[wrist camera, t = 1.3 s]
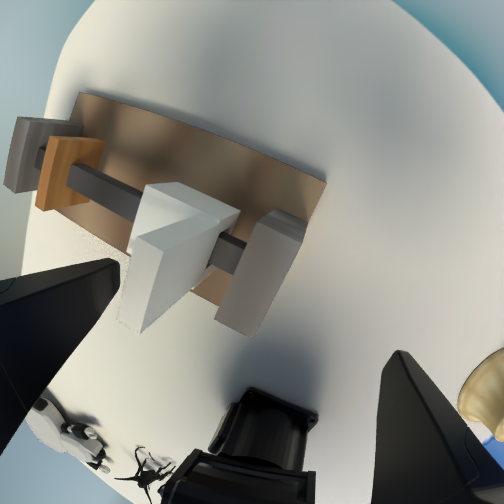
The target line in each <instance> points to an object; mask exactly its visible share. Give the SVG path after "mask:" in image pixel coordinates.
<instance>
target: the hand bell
mask: <svg viewBox="0 0 504 504" xmlns="http://www.w3.org/2000/svg"><path fill="white" fill-rule="evenodd" d="M458 411H459V413H460V415H461V416H462V417H463V418H464V419H466V420H468V421H471V422H481V423H483V424H484V425H485V426H486V427H487V428H488V429H489V430H490V431H491V432H492V434H493V435H494V437H495V438H496V440H498V441H501V442H504V348H503V349H501V350H499V351H497V352H495V353H494V354H492V355H491V356H489V357H488V358H487V359H486V360H484V361H483V362H482V363H481V364H480V365H479V366H478V367H477V368H476V369H475V370H474V371H473V372H472V374H471V375H470V376H469V378H468V379H467V381H466V382H465V384H464V386H463V388H462V390H461V392H460V395H459V398H458Z"/></svg>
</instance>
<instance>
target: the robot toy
mask: <svg viewBox="0 0 504 504" xmlns="http://www.w3.org/2000/svg"><path fill="white" fill-rule="evenodd" d="M25 419H26V421H27V423H28V425H29V426H30V428H31V429H32V431H33V432H34V434H35V435H36V436H37V437H38V438H39V439H38V440H39V441H40V442H43V443H45V444H46V445H48V446H49V447H51V448H52V449H54V450H56V451H57V452H66V451H67V452H69V453H70V454H71V455H73V456H75V457H76V458H78V459H79V460H81V461H83V462H86V463H87V464H88V465H89V466H91V467H92V468H94V469H95V470H97V469H98V468H99V469H100V470H101V471H102V472H104V473H106V474H108V473H109V472H110V469H109V468H108V467H107V466H105V465H102V464H101V463H102V462H103V461H102V459H104V458H105V456H106V453H105V450H104V449H103V448H102V447H103V445H102V444H101V443H100V442H99V441H98V440H96V438H97V436H98V435H97V434H96V433H95V431H94V430H93V429H92V428H90V427H89V426H87V425H85V424H79V423H78V424H76V425H70V424H69V423H66V422H65V420H64V419H63V417H62V415H61V414H60V412H59V411H58V410H57V409H56V407H55V406H54V405H53V403H52V402H51V401H50V400H48V399H46V398H43V397H41V396H40V397H39V398H38V400H37V401H36V403H35V404H34V405H33V407H32V408H31V410H30V411H29V412H28V414H27V416H26V417H25Z"/></svg>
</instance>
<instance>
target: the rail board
mask: <svg viewBox="0 0 504 504" xmlns="http://www.w3.org/2000/svg"><path fill="white" fill-rule="evenodd" d="M170 182H179V183H182V184H184V185H186V186H188V187H191V188H193V189H195V190H197V191H199V192H201V193H204V194H206V195H208V196H210V197H212V198H214V199H217V200H219V201H221V202H223V203H225V204H227V205H230V206H232V207H234V208H236V209H238V210H240V211H241V212H240V214H239V216H238V219H237V221H236V224H235V226H234V228H233V231H232V233H231V235H230V234H228V233H226V232H224V231H223V232H221V233H219V236H218V238H217V241H216V243H215V246H214V248H213V251H212V253H211V256H210V258H209V261H208V263H210V264H212V265H213V266H215V267H217V269H215V270H214V271H213V272H212V273H211V274H210V275H209V276H208V277H207V278H205V279H204V280H203V281H202V282H201V283H200V284H199V285H198V286H196V287H195V288H194V289H193V290H192V289H190V290H189V291H191V292H193V293H195V294H197V295H198V296H200V297H202V298H204V299H206V300H208V301H210V302H212V303H213V304H215V305H217V306H219V308H218V311H217V313H216V315H215V318H214V319H215V320H216V321H218V322H220V323H222V324H224V325H226V326H228V327H230V328H232V329H234V330H236V331H238V332H240V333H242V334H244V335H246V336H248V337H250V338H252V339H253V337H254V335H255V333H256V331H257V330H258V328H259V326H260V324H261V322H262V320H263V318H264V317H265V315H266V313H267V311H268V309H269V307H270V305H271V303H272V301H273V299H274V298H275V296H276V294H277V292H278V290H279V288H280V286H281V284H282V282H283V280H284V278H285V276H286V274H287V272H288V270H289V268H290V267H291V265H292V263H293V261H294V259H295V257H296V255H297V253H298V251H299V249H300V247H301V245H302V242H303V239H304V235H305V232H306V228H307V225H308V222H309V220H310V218H311V216H312V214H313V212H314V210H315V207H316V205H317V203H318V201H319V199H320V197H321V195H322V193H323V191H324V188H325V186H326V184H327V183H325V182H323V181H321V180H319V179H317V178H315V177H313V176H311V175H308V174H306V173H304V172H302V171H300V170H298V169H296V168H293V167H291V166H289V165H287V164H285V163H282V162H280V161H278V160H276V159H273V158H271V157H269V156H266V155H264V154H262V153H259V152H257V151H255V150H252V149H250V148H248V147H245V146H243V145H240V144H238V143H235V142H233V141H230V140H228V139H225V138H223V137H220V136H217V135H215V134H212V133H210V132H207V131H204V130H202V129H199V128H196V127H193V126H191V125H188V124H185V123H182V122H179V121H176V120H173V119H171V118H168V117H165V116H162V115H159V114H155V113H152V112H149V111H146V110H143V109H140V108H136V107H133V106H130V105H126V104H123V103H120V102H116V101H113V100H109V99H105V98H102V97H98V96H94V95H90V94H86V93H82V92H79V94H78V97H77V100H76V103H75V105H74V108H73V111H72V114H71V117H70V121H65V120H55V119H45V118H32V117H17V121H16V124H15V128H14V132H13V137H12V141H11V145H10V150H9V155H8V160H7V166H6V171H5V179H4V185H5V186H6V187H7V188H9V189H10V190H11V191H13V192H14V193H22V192H27V191H34V190H37V196H36V202H35V206H36V207H38V208H39V209H41V210H42V211H43V212H44V211H48V210H53V209H55V210H56V211H58V212H59V213H61V214H62V215H64V216H65V217H67V218H68V219H70V220H71V221H73V222H75V223H76V224H78V225H79V226H81V227H82V228H84V229H85V230H87V231H89V232H90V233H92V234H93V235H95V236H97V237H98V238H100V239H101V240H103V241H105V242H106V243H108V244H110V245H111V246H113V247H114V248H116V249H118V250H119V251H121V252H123V253H124V254H126V255H128V256H129V257H131V254H129V253H127V252H126V251H127V247H128V243H129V239H130V236H131V232H132V228H133V225H134V221H135V218H136V215H137V211H138V208H139V205H140V201H141V198H142V195H143V192H144V189H145V186H146V185H148V184H159V183H170Z"/></svg>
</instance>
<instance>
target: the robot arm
mask: <svg viewBox="0 0 504 504" xmlns="http://www.w3.org/2000/svg"><path fill="white" fill-rule="evenodd" d="M119 287H120V264H119V262H118V261H116V260H113V259H111V258H105V259H100V260H95V261H90V262H85V263H80V264H75V265H70V266H66V267H61V268H56V269H51V270H47V271H42V272H37V273H33V274H28V275H24V276H19V277H17V278H10V279H5V280H1V281H0V456H1V454H2V453H3V451H4V449H5V448H6V446H7V444H8V443H9V441H10V440H11V438H12V436H13V435H14V434H15V432H16V431H17V429H18V427H19V426H20V425H21V423H22V422H23V420H24V419H25V417H26V416H27V414H28V412H29V411H30V410H31V408H32V407H33V405H34V404H35V403H36V401H37V400H38V398H39V397H40V395H41V394H42V393H43V391H44V390H45V389H46V387H47V386H48V384H49V383H50V382H51V380H52V379H53V378H54V376H55V375H56V374H57V372H58V371H59V370H60V368H61V367H62V366H63V364H64V363H65V362H66V360H67V359H68V358H69V357H70V355H71V354H72V353H73V351H74V350H75V349H76V348H77V346H78V345H79V344H80V342H81V341H82V340H83V339H84V337H85V336H86V335H87V334H88V332H89V331H90V330H91V329H92V328H93V326H94V325H95V324H96V322H97V321H98V319H99V318H100V317H101V315H102V313H103V312H104V310H105V309H106V307H107V306H108V304H109V303H110V301H111V300H112V298H113V297H114V295H115V294H116V293H117V291H118V289H119ZM250 392H251V393H253V394H250ZM317 422H318V415H317V414H315V413H312V412H309V411H307V410H304V409H302V408H299V407H297V406H295V405H292V404H290V403H287V402H285V401H283V400H280V399H278V398H276V397H274V396H271V395H269V394H267V393H265V392H262V391H260V390H258V389H256V388H253V387H249V388H247V389H246V390H245V392H244V393H243V395H242V397H241V398H240V400H239V401H238V403H236V402H233V403H231V405H230V406H229V408H228V409H227V411H226V413H225V414H224V416H223V417H222V419H221V421H220V423H219V426H218V428H217V430H216V432H215V434H214V436H213V438H212V441H211V443H210V445H209V447H208V451H209V452H210V453H212V454H209V453H206V452H203V451H202V450H199V449H194V450H193V452H192V453H191V454H190V455H188V456H187V458H186V459H185V460H184V461H183V463H182V464H181V465H180V466H179V468H178V469H177V470H176V471H175V472H174V474H173V475H172V476H171V477H170V478H169V480H168V481H167V482H166V483H165V486H164V487H162V488H161V490H160V495H161V497H162V500H161V504H315V482H316V471H308V472H305V471H302V470H303V464H304V457H305V450H306V443H307V435H308V432H309V431H310V430H311V429H312V428H313V427H314V426H315V425H316V424H317ZM371 504H504V470H503V468H502V467H501V466H500V465H499V464H498V463H497V461H496V460H495V459H494V458H493V457H492V456H491V454H490V453H489V452H488V451H487V450H486V448H485V447H484V446H483V445H482V444H481V442H480V441H479V440H478V438H477V437H476V436H475V435H474V433H473V432H472V431H471V429H470V428H469V427H467V424H466V423H465V421H464V420H463V419H462V418H461V416H460V415H459V414H458V412H457V411H456V410H455V409H454V407H453V406H452V405H451V403H450V402H449V401H448V400H447V398H446V397H445V396H444V395H443V393H442V392H441V391H440V390H439V388H438V387H437V386H436V385H435V384H434V382H433V381H432V380H431V379H430V377H429V376H428V375H427V374H426V373H425V371H424V370H423V369H422V368H421V367H420V365H419V364H418V363H417V362H416V361H415V359H414V358H413V357H412V356H411V355H410V354H409V353H408V352H406V351H402V350H396V351H395V352H394V353H393V354H392V356H391V357H390V359H389V360H388V362H387V363H386V365H385V366H384V368H383V370H382V374H381V384H380V393H379V402H378V410H377V429H376V452H375V467H374V479H373V490H372V499H371Z"/></svg>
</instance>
